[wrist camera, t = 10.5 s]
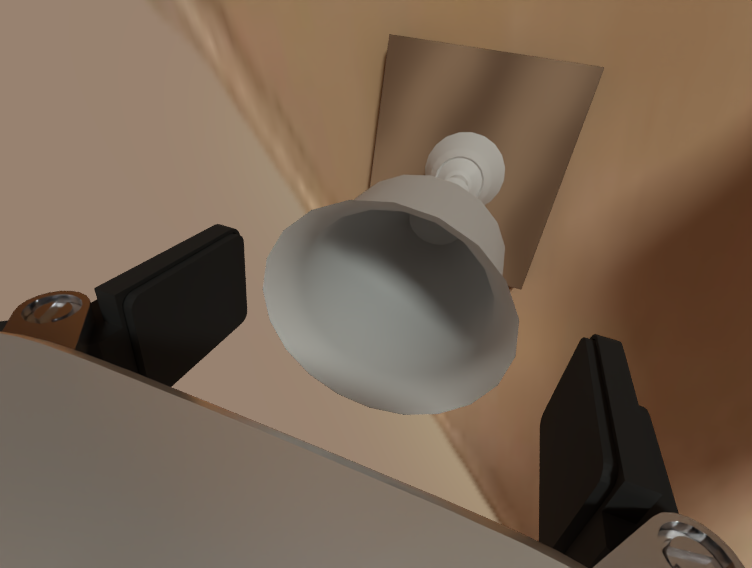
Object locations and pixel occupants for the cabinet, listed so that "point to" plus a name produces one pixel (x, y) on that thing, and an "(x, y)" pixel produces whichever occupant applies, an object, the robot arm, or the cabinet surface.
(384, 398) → the chalice
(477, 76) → the walnut board
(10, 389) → the robot arm
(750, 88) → the cabinet surface
